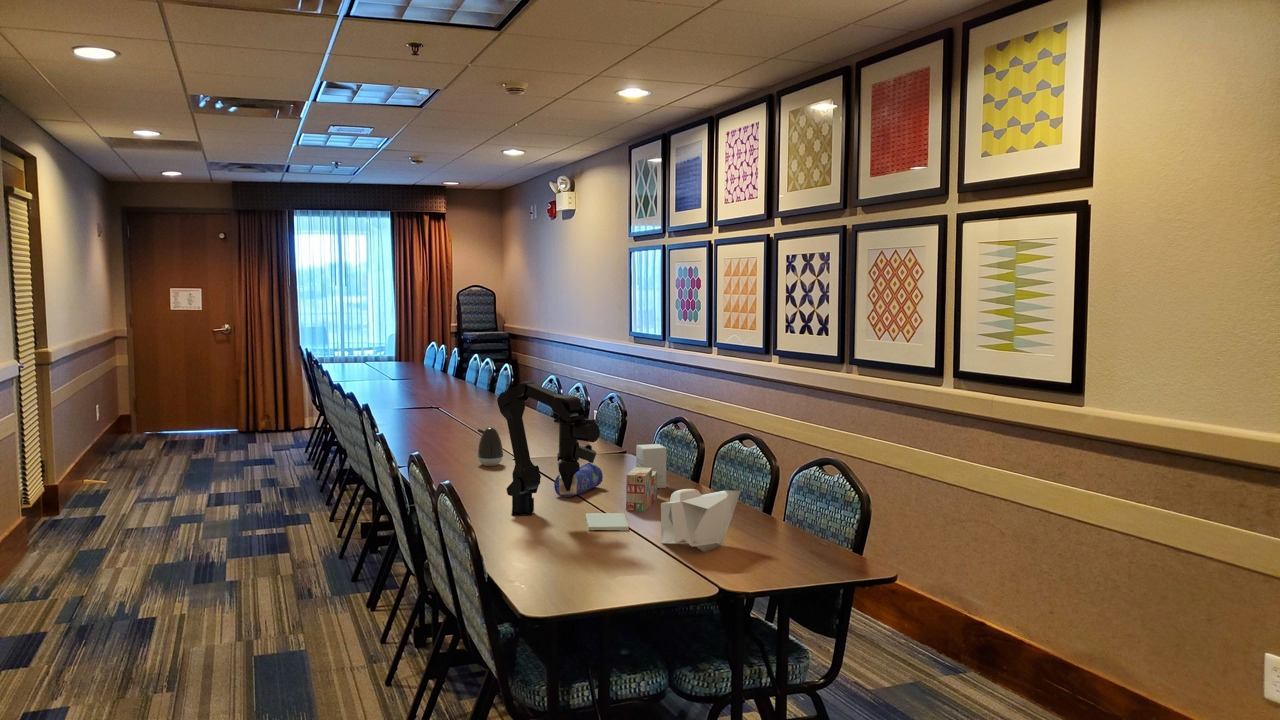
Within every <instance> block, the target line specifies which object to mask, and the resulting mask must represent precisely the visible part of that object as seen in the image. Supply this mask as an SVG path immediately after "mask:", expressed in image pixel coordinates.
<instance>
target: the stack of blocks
mask: <svg viewBox="0 0 1280 720" xmlns="http://www.w3.org/2000/svg"><path fill="white" fill-rule="evenodd" d="M625 488H626V494H625V495H626V496H625V499H626V502H625V511H626V510H627V511H626V512H637V511H638V512H639V513H645V512H646V511H647V510H648V509H649V508H650V507H651V505H652V504H653V502H654V501H656V499H657V498H658V489H657V471H652V468H641V467H636V466H634V467H633V468H632V469H631V471H629V472H628V473H627V474H626V487H625ZM651 503H652V504H651ZM648 507H649V508H648ZM647 508H648V509H647ZM645 510H646V511H645Z"/></svg>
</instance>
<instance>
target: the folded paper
mask: <svg viewBox="0 0 1280 720" xmlns="http://www.w3.org/2000/svg"><path fill="white" fill-rule="evenodd" d="M741 492H742V491H741V490H721V491H715V492H710V493H706V494H702V493H700V491H699V490H698V489H696V488H695V489H694V488H684V489H683V488H682V489H679V490H674V491H673V492H672V493H671V495H670V499H669V501H667V502H660V533H661V534H660V536H661V537H660V538H661V541H660V543H661V544H679V543H687V544H688V545H689V546H691V547H696V549H699V550H701V551H702V552H703V553H706V552H709V551H711V550H713V548H714V549H716V548H718V547H721V546H722V545H723V542H724V539H725V537H726V534H727V532H728V529H729V526H730V524H731V520H732V519H733V515H734V513H735V510H736V507H737V503H738V501H739V497H740V496H741V495H740V494H741ZM708 550H709V551H708ZM705 551H706V552H705Z"/></svg>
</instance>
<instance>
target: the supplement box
mask: <svg viewBox="0 0 1280 720" xmlns="http://www.w3.org/2000/svg"><path fill="white" fill-rule="evenodd" d="M635 448H636V450H635V453H636V454H635V455H636V456H635V467H641V468H652V471H657V488H659V489H667V447H666V446H663V445H662V444H659V443H652V444H636V447H635Z"/></svg>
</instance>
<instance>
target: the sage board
mask: <svg viewBox="0 0 1280 720" xmlns="http://www.w3.org/2000/svg"><path fill="white" fill-rule="evenodd" d="M585 520H587V521H586V526H587V525H588V526H587V530H620V531H629V524H628V521H627V519H626V516H625V513H624V512H613V513H612V512H608V513H606V512H602V513H601V512H600V513H597V512H596V513H592V512H591V513H585Z"/></svg>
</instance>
